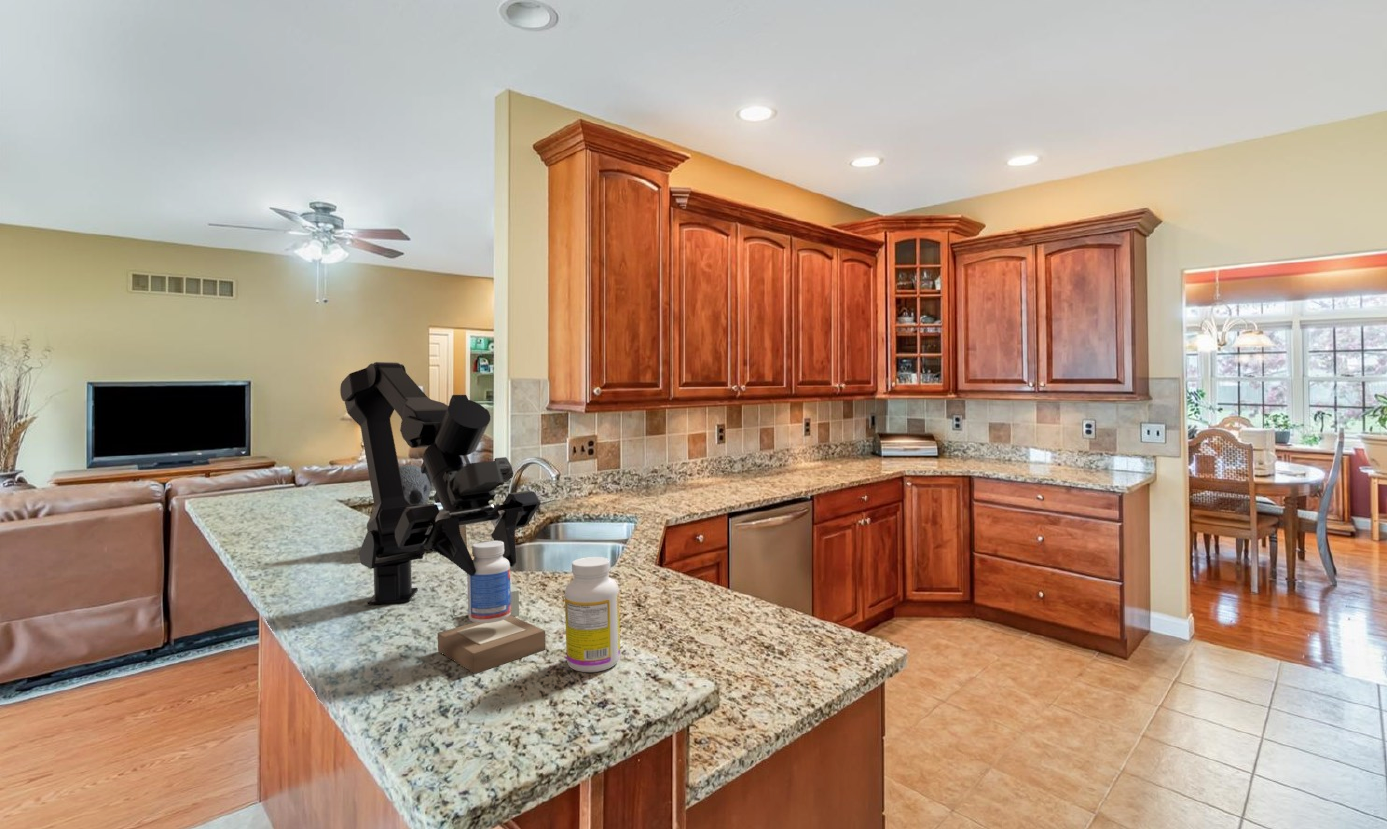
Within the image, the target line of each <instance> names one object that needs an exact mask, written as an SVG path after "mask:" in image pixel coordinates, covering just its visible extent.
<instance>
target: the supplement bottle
mask: <svg viewBox="0 0 1387 829" xmlns="http://www.w3.org/2000/svg"><path fill="white" fill-rule="evenodd" d="M610 570H611V561H610V558H606V557H604V556H587V557H582V558H581V557H580V558H577V559H575V560H573V561H572V562H571V573H572V575H573V580H571V581H570V582H569V583H567V585H566V586H565V589H564V612H565V614H564V615H565V619H564V620H565V644H566V646H565V647H566V649H565V650H566V661H567V662H566V663H567V665H568V666H569V668H571V669H572V670H573V671H576V672H582V673H598V672H602V671H606V670H608V669H610V668H612V667H614V666H615V665H617V663H618V662H619V661H620V658H621V643H620V642H621V640H620V638H621V636H620V635H621V634H620V607H619V606H620V604H619V602H620V599H619V597H620V596H619V594H620V593H619V585H618V583H617V582H616V580H615V579H614V578H611V577H610V575H609V573H610Z"/></svg>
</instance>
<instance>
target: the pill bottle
mask: <svg viewBox="0 0 1387 829" xmlns="http://www.w3.org/2000/svg"><path fill="white" fill-rule="evenodd" d="M471 546H472V547H471V554H472V557H473V559H472V560H473V563H474V566H475V569H476V572H475V574H474V575H473V576H470V575H469V574H467V573H466V576H467V577H466V578H467V610H468V613H467V614H468V620H469V621H471V623H474V622H475V623H493V622H498V621H501V620H504V619H506V618H507V617H509V616H510V614H511V588H510V583H511V566H510V562H509V560H508V559H506V558H505V557H503V554H504V542H502V541H494V540H484V541H478V542H475V543H473V544H472V545H471Z"/></svg>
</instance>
